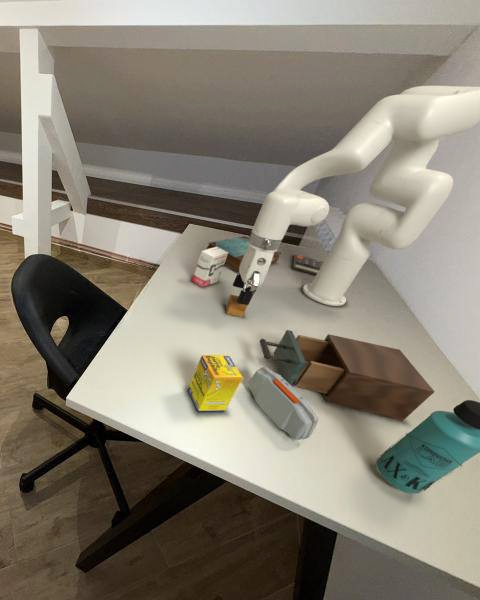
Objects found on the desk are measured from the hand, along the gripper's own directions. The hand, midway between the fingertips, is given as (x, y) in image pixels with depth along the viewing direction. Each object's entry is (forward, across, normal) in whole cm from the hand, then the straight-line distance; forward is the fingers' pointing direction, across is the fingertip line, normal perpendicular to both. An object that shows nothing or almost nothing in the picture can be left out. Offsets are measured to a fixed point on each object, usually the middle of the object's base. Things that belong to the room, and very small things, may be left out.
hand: (239, 294), depth 92 cm
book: (+6, +42, -7) cm, 43 cm away
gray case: (+7, -37, -4) cm, 38 cm away
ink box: (+6, +16, +8) cm, 19 cm away
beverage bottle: (+6, -45, -22) cm, 50 cm away
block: (+6, 0, 0) cm, 6 cm away
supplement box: (+7, -39, +10) cm, 40 cm away
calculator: (+5, +47, -35) cm, 59 cm away
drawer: (+5, -23, -12) cm, 26 cm away
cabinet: (+6, -23, -24) cm, 34 cm away
